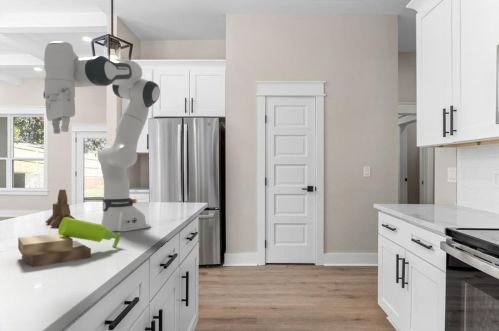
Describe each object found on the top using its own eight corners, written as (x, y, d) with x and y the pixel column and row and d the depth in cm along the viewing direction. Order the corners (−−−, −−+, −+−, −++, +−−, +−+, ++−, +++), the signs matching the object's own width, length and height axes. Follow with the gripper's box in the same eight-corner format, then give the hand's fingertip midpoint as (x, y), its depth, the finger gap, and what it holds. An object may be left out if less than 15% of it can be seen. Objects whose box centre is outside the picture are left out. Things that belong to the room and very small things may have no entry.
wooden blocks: (82, 228, 162) (83, 190, 162) (53, 231, 154) (53, 191, 154) (69, 221, 181) (69, 187, 181) (42, 223, 173) (42, 188, 173)
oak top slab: (63, 243, 117) (64, 232, 117) (72, 250, 107) (72, 239, 107) (18, 248, 109) (18, 237, 109) (23, 257, 99) (23, 244, 99)
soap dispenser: (61, 240, 107) (118, 249, 121) (69, 218, 109) (125, 230, 123) (55, 236, 111) (111, 245, 125) (63, 215, 113) (118, 227, 127)
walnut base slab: (75, 250, 121) (75, 240, 121) (90, 259, 109) (90, 248, 109) (22, 258, 110) (22, 247, 110) (32, 269, 98) (32, 257, 98)
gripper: (80, 87, 108) (80, 131, 108) (62, 96, 123) (62, 135, 123) (58, 84, 104) (58, 129, 104) (42, 94, 119) (42, 134, 119)
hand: (60, 132), depth 114 cm, fingers open, 8 cm apart
